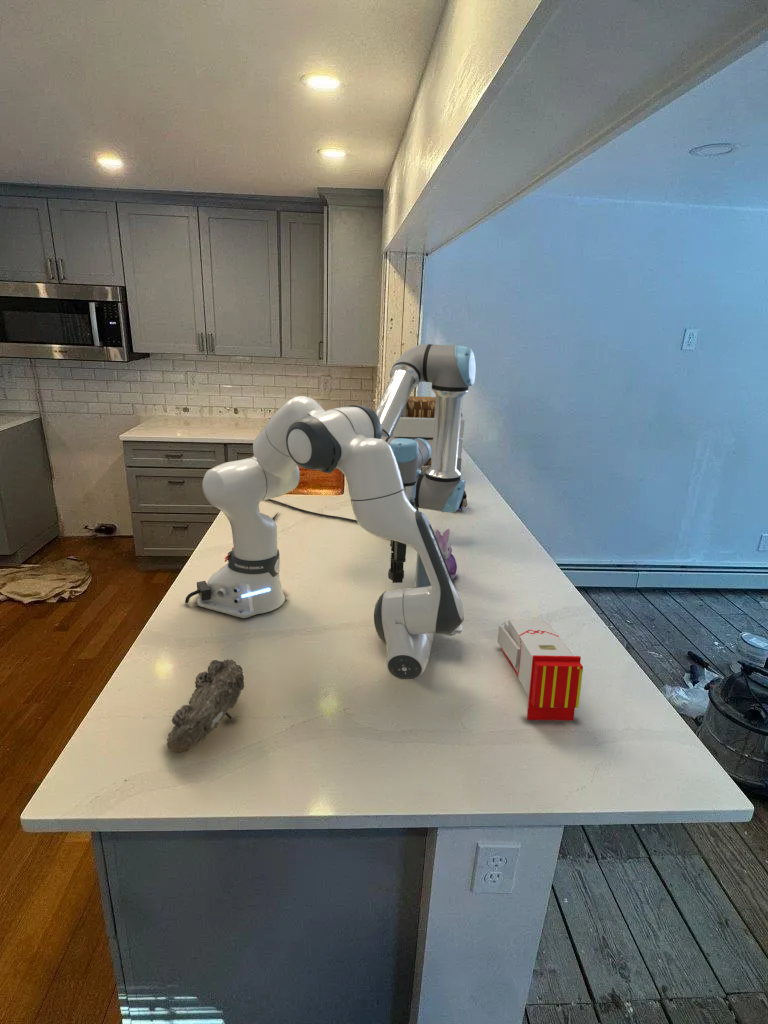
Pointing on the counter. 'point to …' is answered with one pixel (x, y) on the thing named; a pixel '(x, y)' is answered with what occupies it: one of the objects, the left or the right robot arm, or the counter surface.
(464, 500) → the figurine character
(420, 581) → the bottle
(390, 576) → the cap
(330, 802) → the counter surface
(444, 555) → the figurine
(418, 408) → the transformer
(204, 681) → the fossil
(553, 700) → the toy
